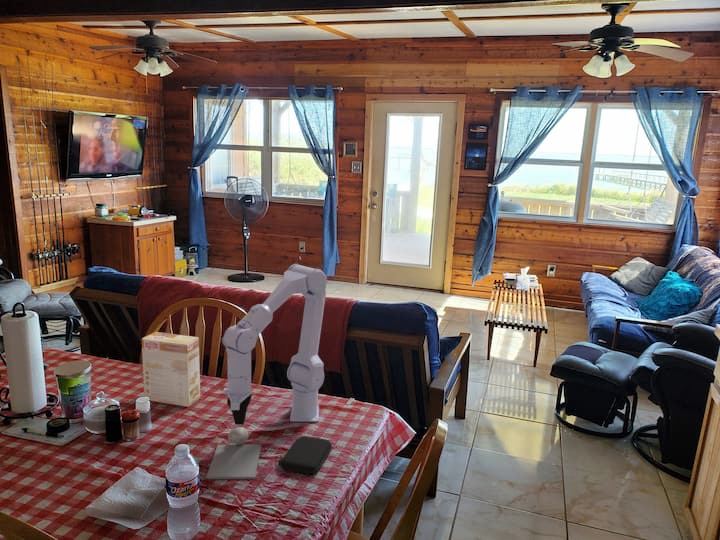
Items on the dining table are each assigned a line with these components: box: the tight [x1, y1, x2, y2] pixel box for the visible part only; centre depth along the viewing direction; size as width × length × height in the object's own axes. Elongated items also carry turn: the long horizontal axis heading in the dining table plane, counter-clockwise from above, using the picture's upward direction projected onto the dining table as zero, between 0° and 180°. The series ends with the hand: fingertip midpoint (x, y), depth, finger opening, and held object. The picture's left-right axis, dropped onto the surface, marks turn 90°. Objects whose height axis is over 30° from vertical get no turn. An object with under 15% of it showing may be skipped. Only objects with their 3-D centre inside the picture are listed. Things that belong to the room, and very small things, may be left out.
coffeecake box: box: [141, 331, 201, 408], centre depth 162 cm, size 15×7×20 cm, turn 76°
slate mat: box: [205, 444, 262, 480], centre depth 132 cm, size 14×11×1 cm
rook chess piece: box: [227, 426, 250, 445], centre depth 137 cm, size 4×4×8 cm
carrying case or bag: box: [278, 435, 333, 477], centre depth 135 cm, size 11×3×15 cm
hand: (239, 423), depth 138 cm, fingers closed
